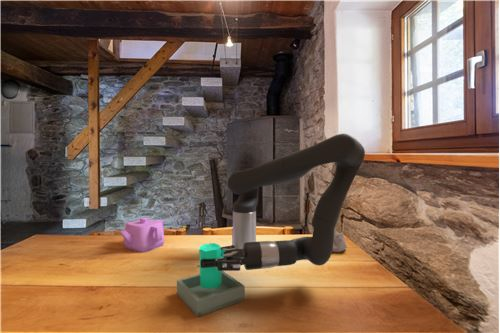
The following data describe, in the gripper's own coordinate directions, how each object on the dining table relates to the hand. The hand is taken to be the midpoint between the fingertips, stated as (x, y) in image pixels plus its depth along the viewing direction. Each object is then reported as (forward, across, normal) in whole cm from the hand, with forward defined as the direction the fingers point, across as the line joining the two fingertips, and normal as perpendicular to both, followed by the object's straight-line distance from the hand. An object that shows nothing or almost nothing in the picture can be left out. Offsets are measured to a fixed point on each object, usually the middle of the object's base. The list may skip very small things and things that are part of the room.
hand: (200, 259), depth 79 cm
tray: (-2, 0, +11) cm, 11 cm away
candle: (-3, 0, +7) cm, 8 cm away
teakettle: (+25, -49, +10) cm, 56 cm away
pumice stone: (-52, -30, +12) cm, 61 cm away
